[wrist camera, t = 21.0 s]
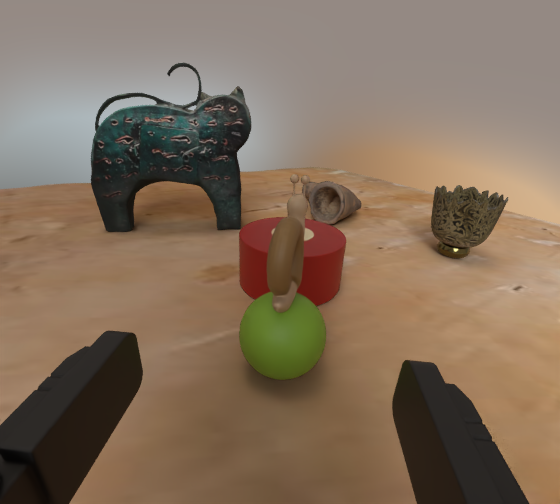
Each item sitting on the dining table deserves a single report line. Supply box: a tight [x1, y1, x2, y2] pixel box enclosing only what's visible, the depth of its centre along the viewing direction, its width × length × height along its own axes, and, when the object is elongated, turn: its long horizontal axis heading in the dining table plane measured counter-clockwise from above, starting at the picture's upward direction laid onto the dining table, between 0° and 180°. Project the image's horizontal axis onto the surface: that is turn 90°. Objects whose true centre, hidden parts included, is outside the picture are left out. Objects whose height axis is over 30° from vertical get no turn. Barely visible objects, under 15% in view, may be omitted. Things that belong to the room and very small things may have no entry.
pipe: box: [302, 181, 361, 224], centre depth 52 cm, size 6×17×10 cm
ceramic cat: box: [91, 63, 251, 232], centre depth 39 cm, size 20×6×20 cm, turn 100°
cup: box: [431, 185, 508, 258], centre depth 37 cm, size 8×7×8 cm
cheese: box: [239, 217, 346, 306], centre depth 30 cm, size 10×10×5 cm
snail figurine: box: [239, 174, 326, 380], centre depth 18 cm, size 5×6×12 cm
